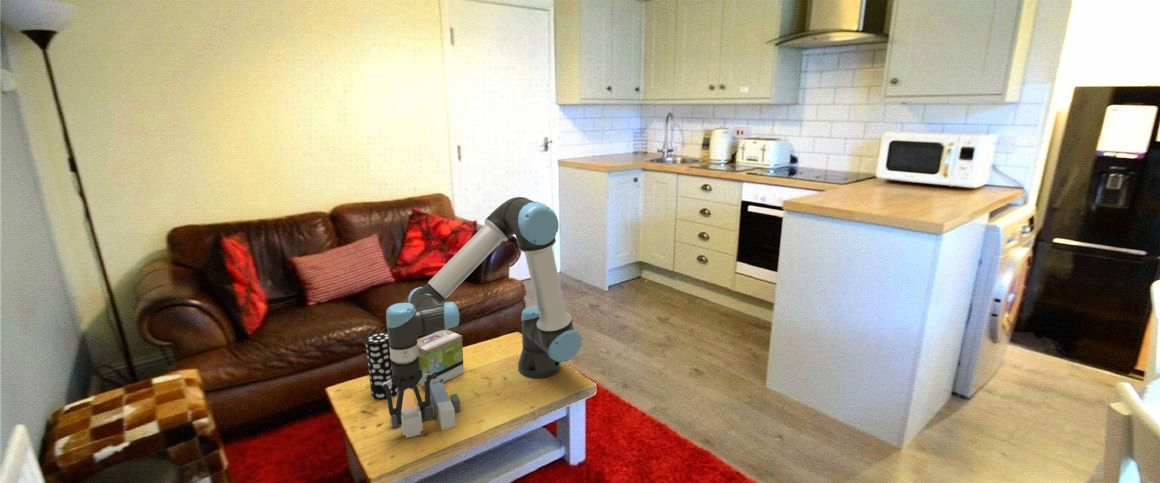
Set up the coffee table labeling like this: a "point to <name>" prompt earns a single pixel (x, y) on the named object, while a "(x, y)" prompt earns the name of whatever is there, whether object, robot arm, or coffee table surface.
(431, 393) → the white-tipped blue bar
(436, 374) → the tea box
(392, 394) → the spotted tube
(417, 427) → the white-capped orange post
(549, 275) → the robot arm
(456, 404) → the grey blocks
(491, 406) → the coffee table surface
